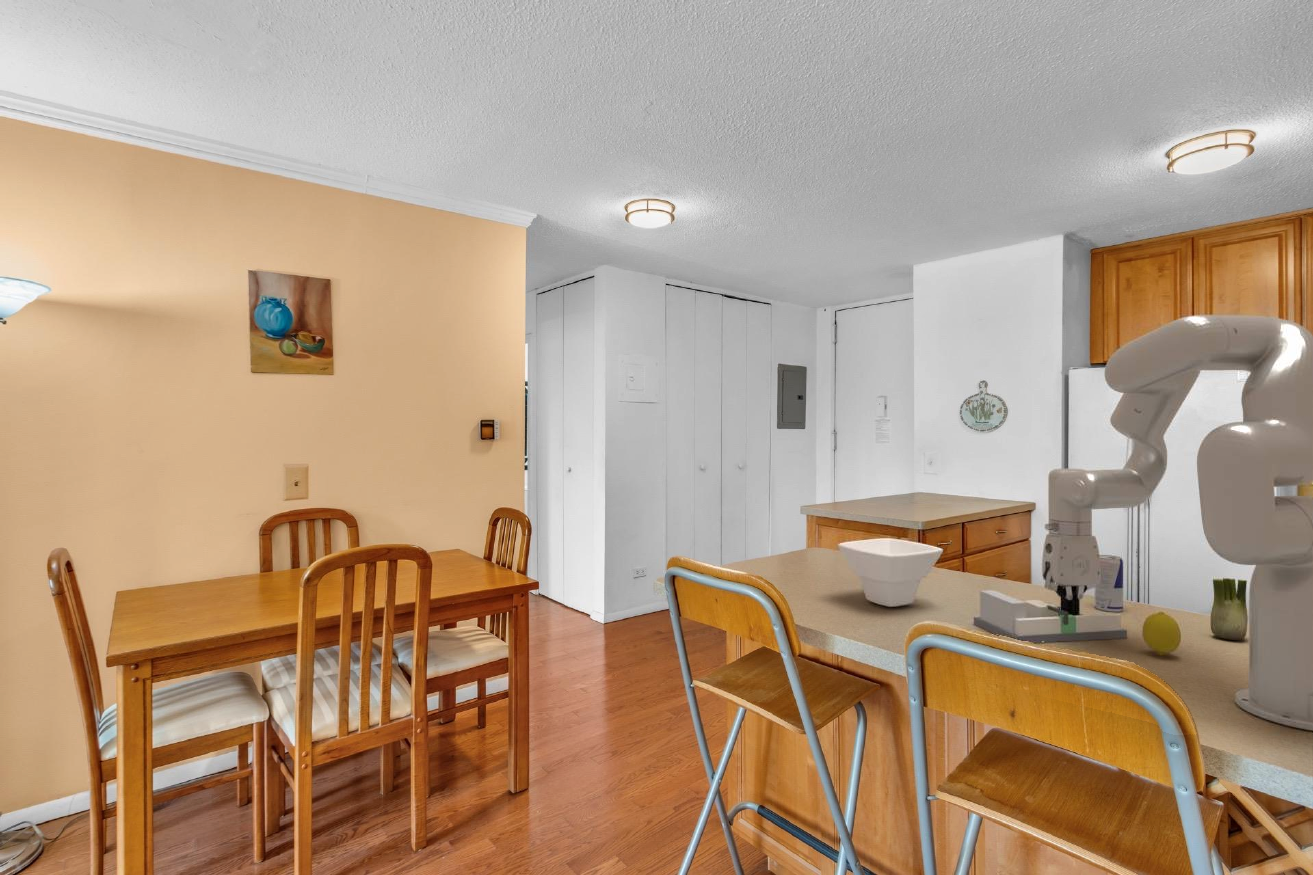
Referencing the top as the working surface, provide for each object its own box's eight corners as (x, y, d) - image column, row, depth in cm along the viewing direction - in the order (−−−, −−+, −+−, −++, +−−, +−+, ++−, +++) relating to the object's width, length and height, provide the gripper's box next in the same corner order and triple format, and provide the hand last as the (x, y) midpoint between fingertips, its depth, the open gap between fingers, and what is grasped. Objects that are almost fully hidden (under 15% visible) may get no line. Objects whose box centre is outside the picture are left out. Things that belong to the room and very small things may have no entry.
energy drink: (1128, 610, 145) (1128, 558, 145) (1113, 613, 143) (1113, 560, 143) (1104, 604, 150) (1104, 553, 150) (1089, 607, 148) (1089, 555, 148)
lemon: (1165, 662, 114) (1165, 617, 114) (1135, 651, 119) (1134, 608, 119) (1188, 658, 115) (1188, 614, 115) (1157, 648, 121) (1157, 606, 120)
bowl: (831, 599, 157) (830, 543, 157) (890, 590, 165) (890, 536, 165) (888, 620, 140) (887, 556, 140) (951, 608, 148) (950, 548, 148)
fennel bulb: (1246, 637, 126) (1246, 577, 126) (1251, 645, 122) (1251, 582, 122) (1207, 633, 129) (1207, 573, 129) (1211, 639, 125) (1211, 578, 125)
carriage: (1079, 633, 125) (1079, 611, 125) (1057, 634, 124) (1057, 612, 124) (1043, 618, 134) (1043, 598, 134) (1022, 619, 134) (1022, 599, 134)
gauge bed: (1126, 637, 127) (1126, 600, 127) (1015, 644, 124) (1015, 605, 124) (1075, 618, 140) (1075, 584, 140) (973, 624, 137) (973, 589, 137)
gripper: (1050, 532, 127) (1050, 624, 128) (1117, 530, 129) (1117, 620, 130) (1023, 527, 135) (1024, 613, 135) (1087, 524, 137) (1088, 610, 137)
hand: (1070, 617), depth 132 cm, fingers closed
